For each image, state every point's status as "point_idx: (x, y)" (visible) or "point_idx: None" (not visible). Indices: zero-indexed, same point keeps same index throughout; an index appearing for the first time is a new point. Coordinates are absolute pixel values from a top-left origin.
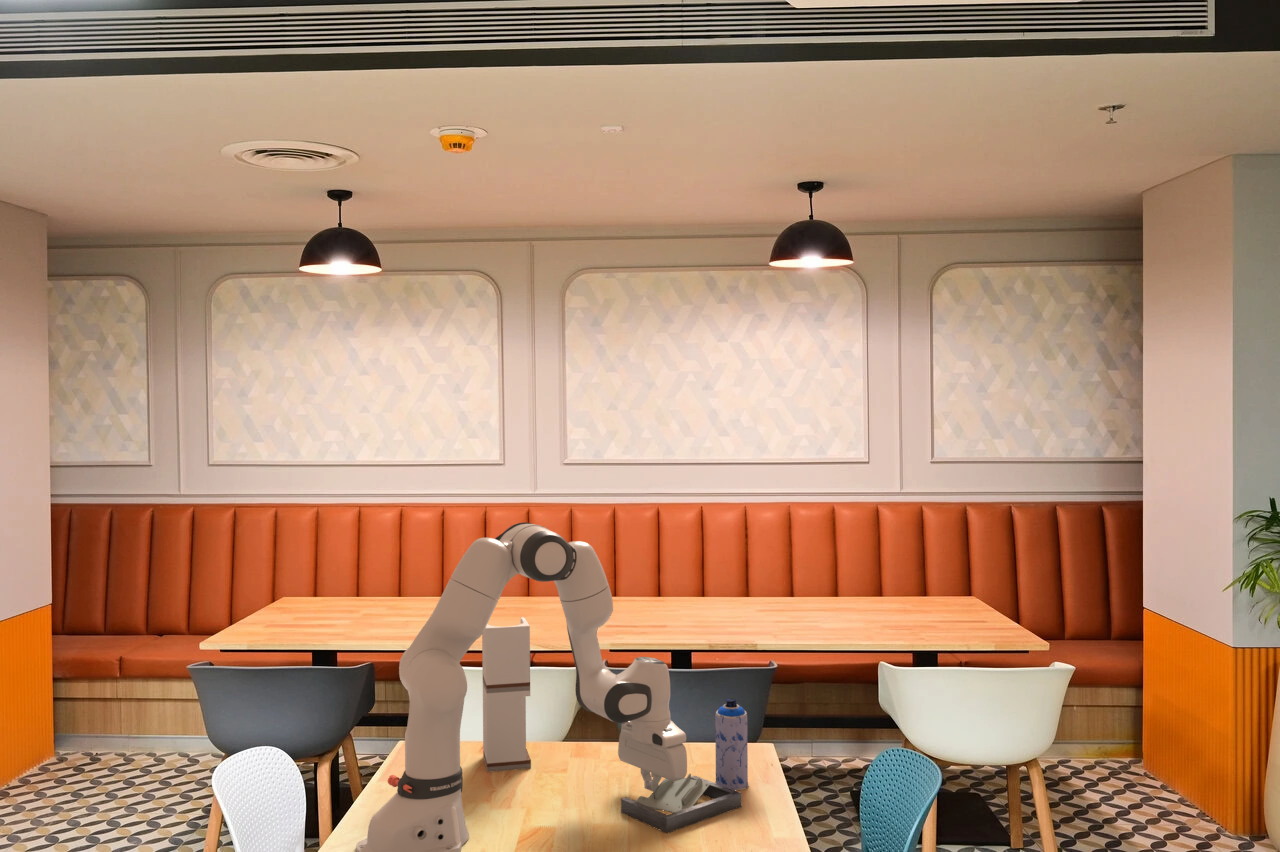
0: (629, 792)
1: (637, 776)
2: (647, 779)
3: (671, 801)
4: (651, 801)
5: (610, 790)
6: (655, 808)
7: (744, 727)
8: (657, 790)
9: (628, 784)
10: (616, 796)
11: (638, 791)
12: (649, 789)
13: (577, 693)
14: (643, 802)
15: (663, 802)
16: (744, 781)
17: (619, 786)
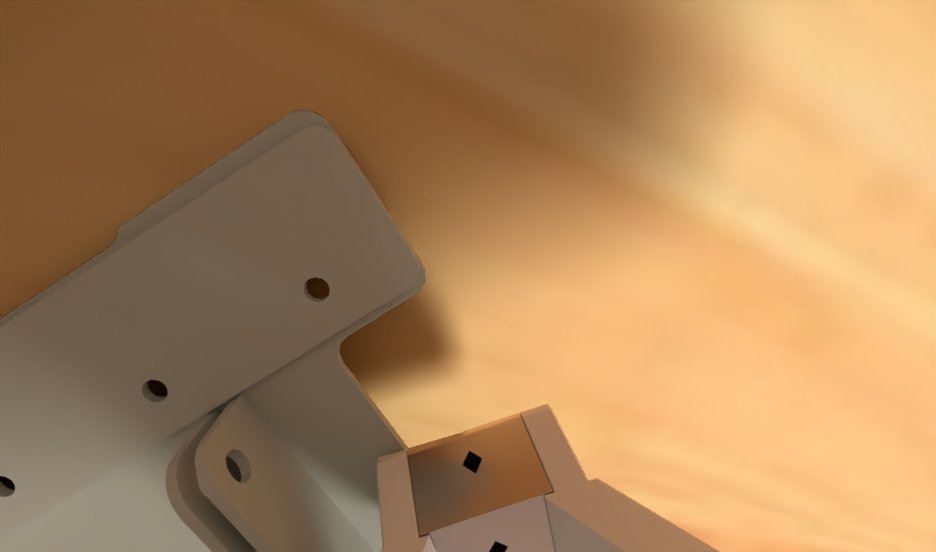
0: (709, 229)
1: (921, 417)
2: (571, 539)
3: (62, 546)
4: (198, 348)
5: (923, 39)
6: (11, 322)
7: None
8: (207, 540)
9: (870, 300)
10: (721, 7)
11: (666, 324)
12: (446, 442)
13: None
14: (244, 244)
15: (73, 464)
16: None
17: (911, 199)
